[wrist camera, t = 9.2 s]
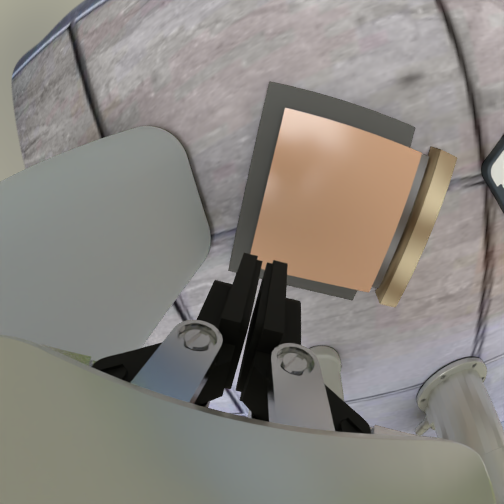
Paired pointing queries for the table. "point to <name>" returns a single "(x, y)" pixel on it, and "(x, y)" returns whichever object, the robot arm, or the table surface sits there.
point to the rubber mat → (264, 151)
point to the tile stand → (414, 225)
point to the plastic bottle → (99, 243)
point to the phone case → (495, 172)
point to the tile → (332, 200)
